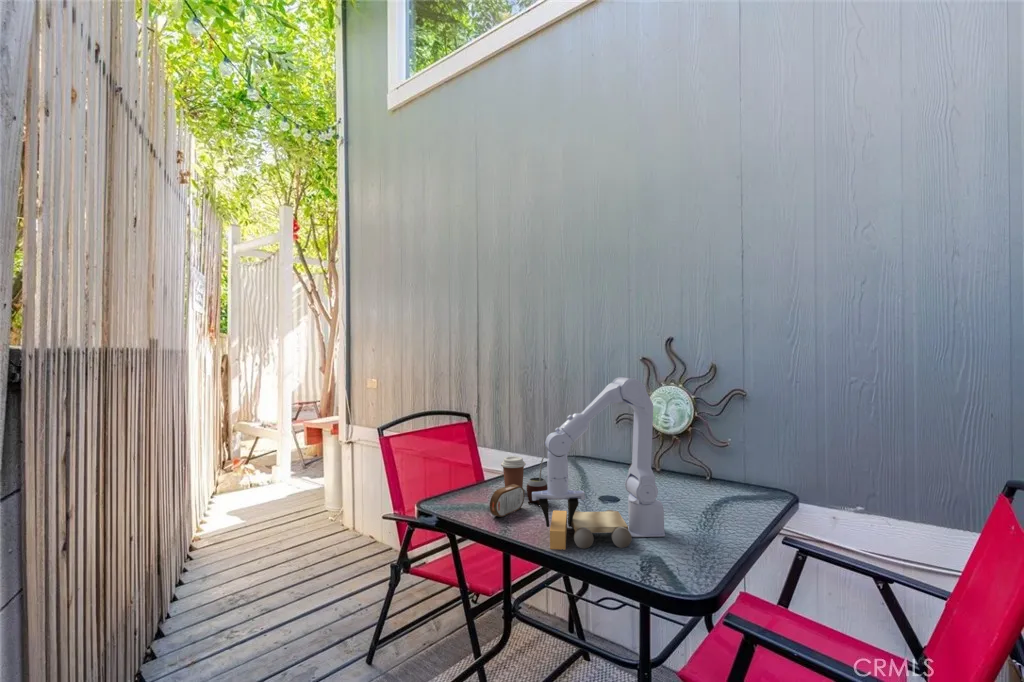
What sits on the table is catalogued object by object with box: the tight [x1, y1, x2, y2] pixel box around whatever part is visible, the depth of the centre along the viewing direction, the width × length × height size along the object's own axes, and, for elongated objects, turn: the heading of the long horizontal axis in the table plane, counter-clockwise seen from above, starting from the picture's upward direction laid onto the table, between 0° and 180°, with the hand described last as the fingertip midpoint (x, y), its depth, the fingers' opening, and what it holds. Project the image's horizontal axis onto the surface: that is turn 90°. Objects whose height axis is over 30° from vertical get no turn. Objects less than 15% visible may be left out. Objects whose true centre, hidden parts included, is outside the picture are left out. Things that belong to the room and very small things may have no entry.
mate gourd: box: [526, 455, 548, 506], centre depth 166 cm, size 8×8×15 cm
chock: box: [549, 510, 568, 550], centre depth 136 cm, size 4×16×5 cm, turn 172°
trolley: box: [570, 509, 633, 550], centre depth 135 cm, size 15×15×5 cm
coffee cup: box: [500, 455, 527, 489], centre depth 180 cm, size 9×9×12 cm
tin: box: [489, 484, 525, 518], centre depth 156 cm, size 15×3×8 cm, turn 141°
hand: (558, 525), depth 135 cm, fingers open, 5 cm apart
